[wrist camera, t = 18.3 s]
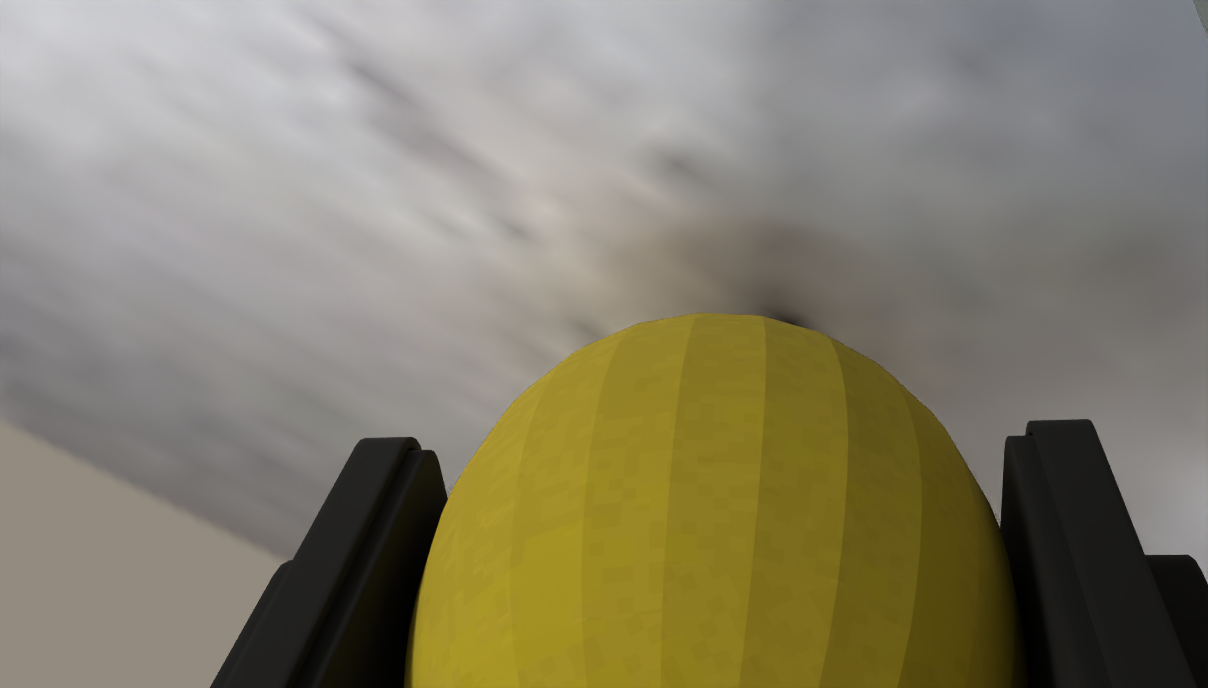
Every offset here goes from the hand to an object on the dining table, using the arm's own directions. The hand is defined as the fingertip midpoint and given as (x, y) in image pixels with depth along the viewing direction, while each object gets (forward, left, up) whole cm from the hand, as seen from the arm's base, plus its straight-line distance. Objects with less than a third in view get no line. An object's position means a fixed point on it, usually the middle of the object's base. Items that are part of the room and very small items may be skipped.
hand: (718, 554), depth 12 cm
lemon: (0, 0, -3) cm, 3 cm away
